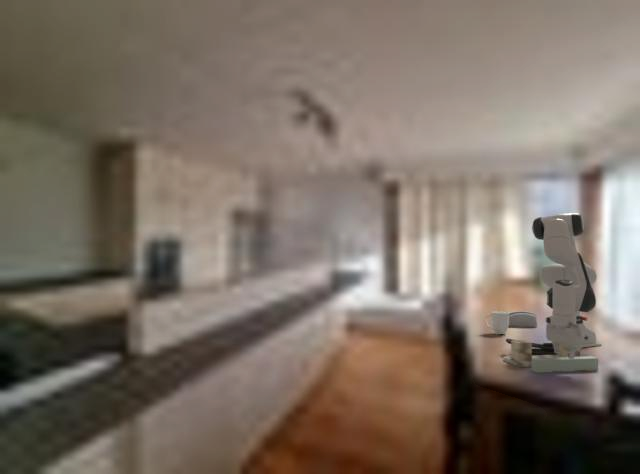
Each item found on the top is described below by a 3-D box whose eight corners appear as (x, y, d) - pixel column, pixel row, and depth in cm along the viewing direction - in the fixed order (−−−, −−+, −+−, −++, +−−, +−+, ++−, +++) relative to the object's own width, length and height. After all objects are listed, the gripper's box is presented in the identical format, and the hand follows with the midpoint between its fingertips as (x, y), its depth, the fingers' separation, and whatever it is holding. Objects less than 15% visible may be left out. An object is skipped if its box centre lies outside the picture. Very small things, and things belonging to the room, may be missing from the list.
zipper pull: (504, 337, 261) (561, 339, 258) (504, 352, 261) (561, 353, 258) (508, 341, 252) (567, 342, 249) (508, 356, 252) (567, 358, 249)
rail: (591, 368, 231) (592, 356, 231) (598, 370, 227) (598, 358, 227) (531, 370, 228) (531, 358, 228) (536, 373, 224) (536, 360, 224)
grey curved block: (536, 325, 332) (537, 310, 329) (537, 329, 328) (538, 314, 325) (506, 324, 336) (506, 309, 332) (506, 328, 332) (507, 313, 328)
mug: (509, 333, 308) (509, 311, 308) (508, 336, 300) (508, 313, 300) (487, 331, 313) (487, 309, 312) (485, 335, 304) (485, 312, 304)
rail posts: (572, 357, 250) (572, 327, 250) (589, 363, 238) (589, 332, 238) (503, 360, 245) (503, 330, 245) (517, 366, 233) (517, 335, 233)
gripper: (587, 324, 217) (587, 361, 217) (557, 317, 238) (557, 350, 238) (572, 325, 216) (572, 361, 216) (543, 317, 237) (543, 351, 237)
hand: (564, 355), depth 227 cm, fingers open, 8 cm apart
